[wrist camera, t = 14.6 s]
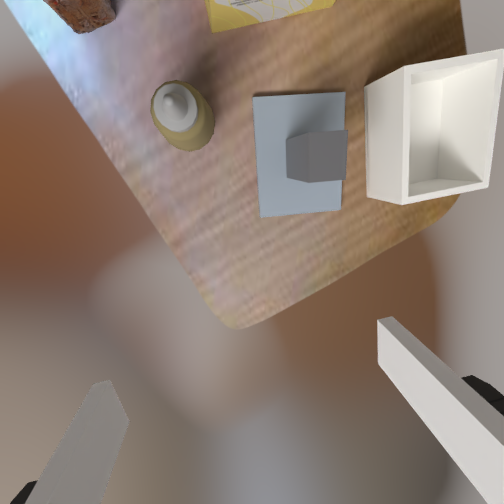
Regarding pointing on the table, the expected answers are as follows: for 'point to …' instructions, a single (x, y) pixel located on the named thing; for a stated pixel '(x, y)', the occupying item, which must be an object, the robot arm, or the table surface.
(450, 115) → the carton
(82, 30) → the food item
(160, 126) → the squeeze bottle
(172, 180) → the table surface
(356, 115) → the table surface
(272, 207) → the lid
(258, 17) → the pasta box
